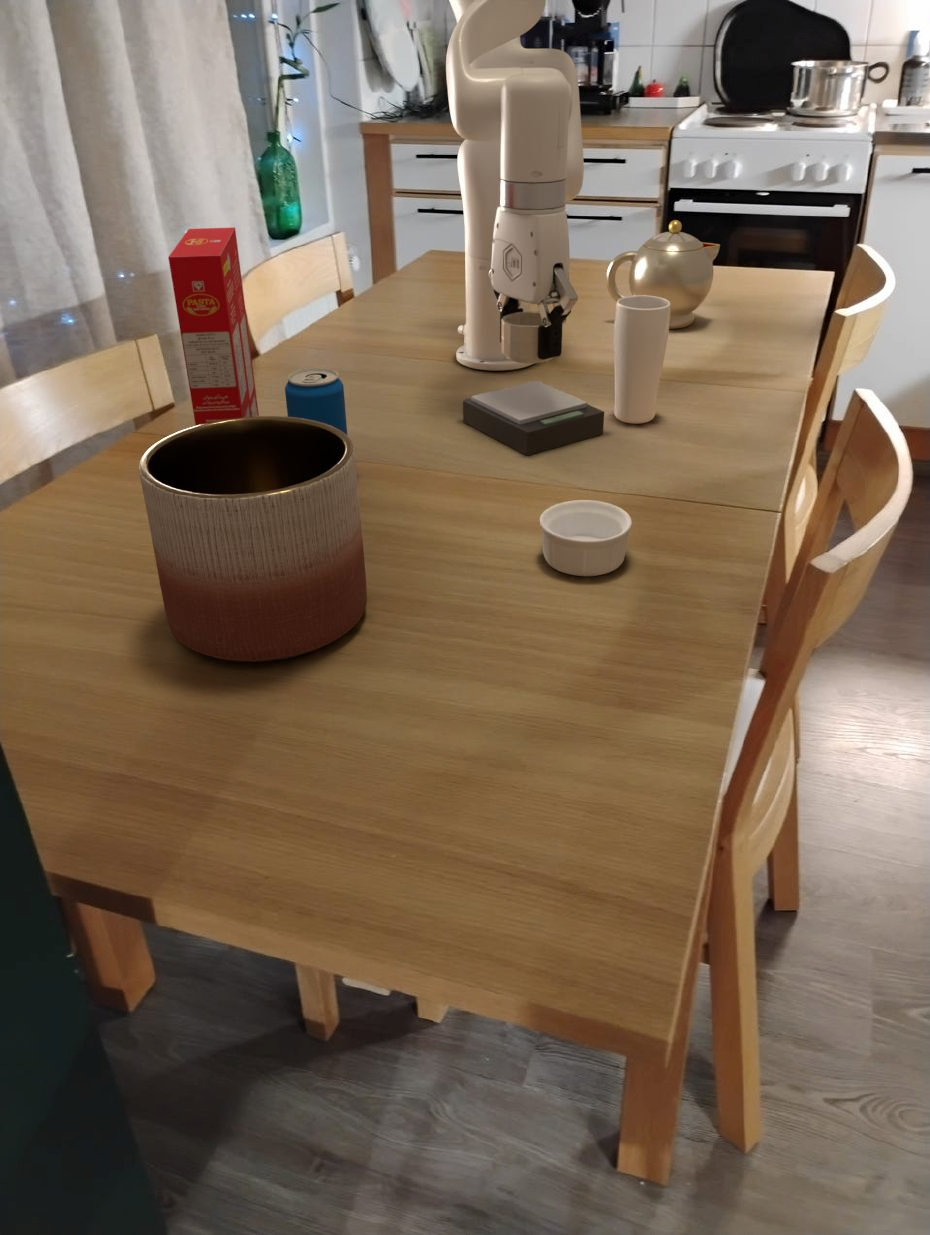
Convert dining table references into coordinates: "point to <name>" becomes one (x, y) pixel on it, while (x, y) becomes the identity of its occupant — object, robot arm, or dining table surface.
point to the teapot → (669, 272)
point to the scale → (533, 417)
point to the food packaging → (213, 324)
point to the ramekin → (585, 537)
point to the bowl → (521, 337)
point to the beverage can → (317, 397)
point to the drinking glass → (639, 355)
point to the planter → (256, 536)
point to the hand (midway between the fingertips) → (530, 348)
